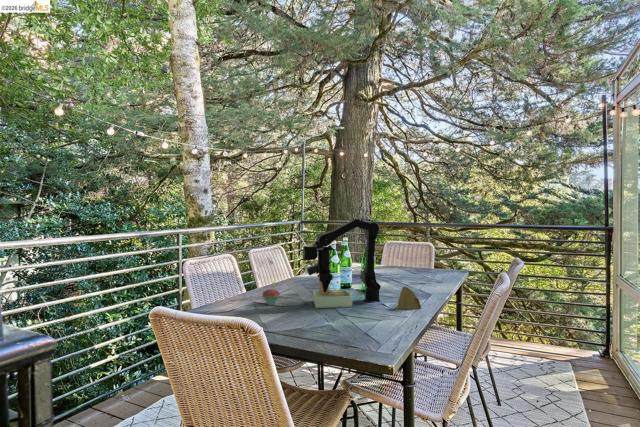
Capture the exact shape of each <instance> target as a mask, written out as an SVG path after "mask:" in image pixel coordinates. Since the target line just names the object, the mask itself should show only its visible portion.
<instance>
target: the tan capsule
mask: <svg viewBox="0 0 640 427" xmlns="http://www.w3.org/2000/svg"><path fill="white" fill-rule="evenodd" d="M329 290H330V285H329V286H328V289H327V291H326V292H324V291H323V286H322V282H321V281H320V280H319V279H318V291H319V295H329Z"/></svg>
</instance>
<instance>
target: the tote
mask: <svg viewBox="0 0 640 427" xmlns="http://www.w3.org/2000/svg"><path fill="white" fill-rule="evenodd" d="M332 291H343V293H344V296H336V297H333V292H332ZM312 292H313V293H312V294H313V295H312V296H313V297H312V300H313V301H312V302H313V304H314V307H315V308H316V309H320V308H321V309H322V308H323V309H324V308H325V309H326V308H327V309H328V308H330V309H331V308H349V307H353V296H352V294H351V292H350V291H349V290H348V289H333V290H332V289H331V290H330V289H329V295H319V290H313V291H312Z"/></svg>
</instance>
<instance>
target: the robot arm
mask: <svg viewBox="0 0 640 427" xmlns="http://www.w3.org/2000/svg"><path fill="white" fill-rule="evenodd" d="M355 228H359V229H361V230H363V232H364V236H365V240H366V241H365V259H364V269H363V270H360V277H359V279H361V282H362V283H363V284H364V287H365V291H364V300H365V301H366V302H367V303H379V302H381V299H380V290H381V287H382V286H381V285H380V284H379V282H377V276H376V272H375V256H376V255H375V254H376V252H375V251H376V250H375V249H376V241H377V237H378V235H379V230H380V226H379V224H378V223H376V222H372V221H368V222H367V221H364V220H361V219H359V218H353V219H351V220H349V221H348V222H345V223H344V224H343V225H340V226H338V227H336V228H335V229H333V230H329V231H325V232H321V233H319V234H318V235H317V237H316V241H315V242H314V243H313V245H310V246H309V245H308V246H306V245H303V248H302V251H301V252H302V253H301V254H302V260H303V261H315V260H316V259H317V261H316V264H313V265H310V266H309V267H306V270H307V271H306V272H307V273H308V275H309V276H313V275H314V274H316V275H317V277H318V281H319V280H320V281H321V282H322V286H323V291H324V292H326V291H327V289H328V286H329V287H330V283H331V282H332V280H333V277H334V275H333V274H332V273H331V266H330V265H331V261H330V258H331V256H330V251H334V250H335V248H333V247H332V246H331V244H332V243H333V242H334V241H335V240H336V239H338V238H339V237H340V236H342V235H345V234H346V233H349V232H351V231H353V230H354V229H355Z"/></svg>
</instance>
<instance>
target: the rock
mask: <svg viewBox="0 0 640 427" xmlns="http://www.w3.org/2000/svg"><path fill="white" fill-rule="evenodd" d="M396 309H397V310H399V309H400V310H414V309H422V305H421V303H420V299H419V298H418V297H417V296H416V293H414V291H413V290H412V289H410V288H409V287H407V286H402V288H401V291H400V294H399V298H398V301H397V308H396Z"/></svg>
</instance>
